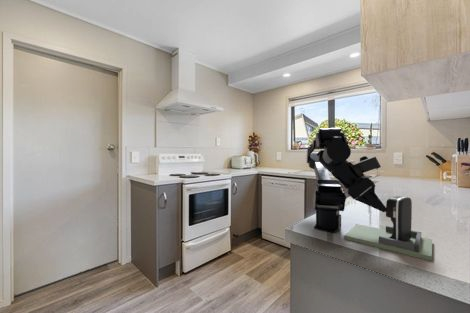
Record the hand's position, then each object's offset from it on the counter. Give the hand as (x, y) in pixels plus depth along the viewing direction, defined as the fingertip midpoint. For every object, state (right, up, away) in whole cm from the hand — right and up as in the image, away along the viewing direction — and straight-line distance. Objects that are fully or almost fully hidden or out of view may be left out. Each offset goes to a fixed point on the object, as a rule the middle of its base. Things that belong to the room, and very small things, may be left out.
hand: (382, 207), depth 58 cm
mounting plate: (+1, -9, 0) cm, 9 cm away
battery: (+3, -8, -2) cm, 9 cm away
